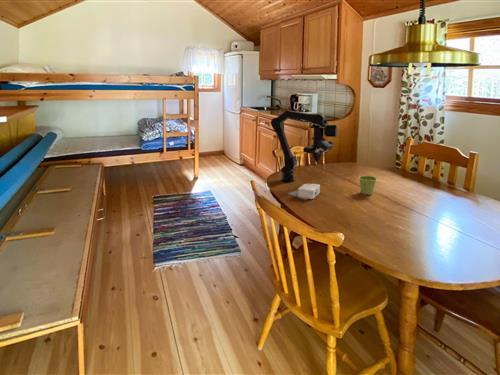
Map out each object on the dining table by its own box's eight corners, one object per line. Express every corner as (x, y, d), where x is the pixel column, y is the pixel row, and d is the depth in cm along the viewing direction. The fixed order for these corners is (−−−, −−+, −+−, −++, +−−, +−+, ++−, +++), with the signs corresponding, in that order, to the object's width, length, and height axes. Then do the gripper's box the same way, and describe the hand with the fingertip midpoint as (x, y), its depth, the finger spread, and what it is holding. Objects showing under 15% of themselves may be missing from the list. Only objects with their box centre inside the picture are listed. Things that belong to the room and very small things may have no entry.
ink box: (305, 190, 204) (297, 197, 194) (305, 182, 203) (297, 188, 193) (320, 193, 200) (312, 199, 190) (320, 184, 199) (313, 190, 189)
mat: (287, 193, 200) (287, 193, 200) (301, 189, 207) (301, 189, 207) (304, 199, 191) (304, 199, 191) (318, 195, 197) (318, 195, 197)
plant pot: (353, 192, 201) (355, 177, 198) (364, 189, 206) (365, 174, 204) (368, 197, 194) (369, 181, 191) (379, 193, 199) (380, 178, 196)
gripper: (318, 140, 196) (317, 168, 201) (340, 135, 208) (338, 162, 212) (303, 137, 205) (302, 164, 209) (324, 133, 216) (323, 159, 221)
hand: (317, 162), depth 213 cm, fingers closed
